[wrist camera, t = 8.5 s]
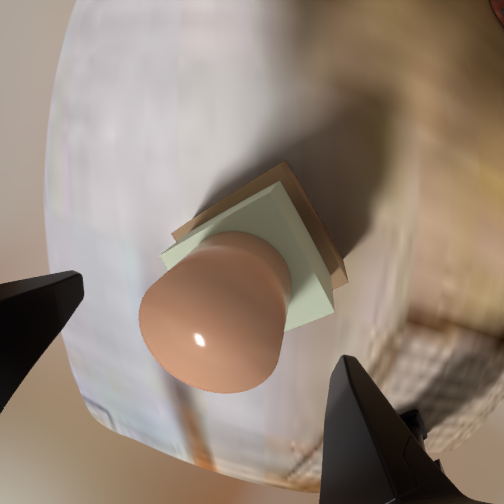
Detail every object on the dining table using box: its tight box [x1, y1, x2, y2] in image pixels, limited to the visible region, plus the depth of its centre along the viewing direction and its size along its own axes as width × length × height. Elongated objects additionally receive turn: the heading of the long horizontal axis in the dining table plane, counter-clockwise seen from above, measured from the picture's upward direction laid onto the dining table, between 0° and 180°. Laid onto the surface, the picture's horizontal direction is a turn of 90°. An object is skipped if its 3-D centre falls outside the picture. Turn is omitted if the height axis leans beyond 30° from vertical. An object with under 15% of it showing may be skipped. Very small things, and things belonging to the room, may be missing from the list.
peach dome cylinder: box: [139, 231, 292, 393], centre depth 10 cm, size 4×4×4 cm
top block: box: [160, 181, 335, 332], centre depth 13 cm, size 6×6×4 cm
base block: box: [171, 160, 348, 290], centre depth 17 cm, size 7×7×4 cm
